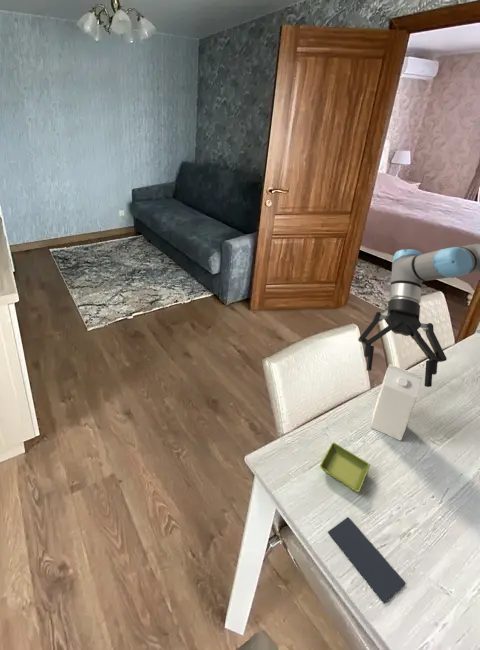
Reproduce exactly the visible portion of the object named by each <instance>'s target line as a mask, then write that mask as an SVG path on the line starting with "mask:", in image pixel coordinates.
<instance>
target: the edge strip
mask: <svg viewBox="0 0 480 650" xmlns="http://www.w3.org/2000/svg"><path fill="white" fill-rule="evenodd" d="M327 533H328V535H329V536H330V538H332V540H333V541H334V543H336V545H337V546H338V547H339V548H340V550H341V551H342V552H343V554H344V555H345V557H347V559H348V560H349V562H350V563H351V564H352V565H353V566H354V568H355V569H356V570H357V572H359V574H360V575H361V577H362V578H363V579H364V580H365V582H366V583H367V585H368V586H370V588H371V589H372V590H373V591H374V593H375V594H376V595H377V597H378V598H379V599H380V600H381V602H382V603H383V604H385V603H386V602H387V601H388V600H389V599H390V598H391V597H393V596H394V595H395V594H396V593H397V592H398V591H399V590H400V589H401V588H402V587H404V585H405V584H406V582H405V580H404V579H403V578H402V577H401V576H400V575H399V573H398V572H397V571H396V570H395V569H394V567H392V565H391V564H390V563H389V562H388V561H387V560H386V558H385V557H384V556H383V555H382V554H381V553H380V552H379V550H378V549H376V547H375V546H374V545H373V544H372V542H371V541H370V540H369V539H368V538H367V536H366V535H364V533H363V532H362V531H361V529H359V527H358V526H357V525H356V524H355V523H354V522H353V521H352V520H351V518H350V517H349V516H347V517H346V518H344V519H343V520H342V521H340V522H339V523H338V524H336V525H335V526H333V527H332V528H331V529H329V530H328V531H327Z"/></svg>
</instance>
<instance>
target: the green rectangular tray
mask: <svg viewBox="0 0 480 650" xmlns="http://www.w3.org/2000/svg"><path fill="white" fill-rule="evenodd" d="M370 466H371V464H370V463H368V462H367V461H365V460H363V459H362V458H360V457H358V456H357V455H356V454H354V453H352V452H350V451H348V449H345V448H344V447H342V446H341V445H339V444H337V443H336V442H332V443H331V444H330V446H329V448H328V449H327V452H326V454H325V455H324V457H323V459H322V461H321V462H320V465H319V467H320V469H321V470H322V471H323V472H325V473H326V474H328V475H329V476H331V477H332V478H334V479H335V480H337V481H338V482H340V483H341V484H343V485H344V486H346V487H347V488H349V489H350V490H351V491H353V492H355V493H360V492H361V489H362V487H363V484H364V481H365V479H366V477H367V474H368V473H369V470H370Z"/></svg>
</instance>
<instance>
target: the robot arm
mask: <svg viewBox="0 0 480 650" xmlns="http://www.w3.org/2000/svg"><path fill="white" fill-rule="evenodd" d="M471 273H480V242H479V243H478V242H477V243H476V242H475V243H470V244H466V245H463V246H452V247H446V248H441V249H437V250H434V251H430V252H426V253H423V252H421V251H419V250H416V249H411V248H408V249H400V250H399V249H398V250H397V251H395V253H394V254H393V259H392V263H391V278H390V287H389V294H388V295H389V296H388V298H389V301H388V305H387V313H386V314H382V313H381V312H380V311H377V312H375V314H374V315H373V318H372V320H371V323H369V325H367V327H366V328H365V330H364V331H363V332H362V333H361V335H360V336H359V337H358V339H357V341H358V342H359V343H361V344H363V345H364V350H363V357H364V358H367V361H366V369H365V370H366V372H367V371H368V372H371V371H372V369H373V359H374V351H375V345H372V344H373V343H375V342H377V341H378V340H379V339H381V338H382V337H383V336H385V335H386V334H388V333H389V332H392V333H394V334H397V335H402V336H405V337H408V336H410V338H411V339H412V340H414V342H415V344H417V346H418V347H419V349H420V350H421V351H422V353H423V354H424V355H425V356H426V357H427V359H428V360H426V361H425V372H424V373H425V374H424V387H426V388H430V387H432V385H433V376H436V375H437V374H438V363H443V362H446V361H447V359H448V358H447V355H446V354H445V352H444V350H443V348H442V345H441V343H440V342H439V339H438V338H437V335H436V333H435V330H434V323H432V322H428V323H423V322H421V320H420V317H421V316H420V314H421V305H420V304H421V303H422V302H421V301H422V288H423V287H422V286H423V282H429V281H435V280H443V279H449V278H450V279H453V278H457V277H461V276H466V275H467V274H471ZM383 320H384V321H385V323H386V325H387V326H386V327H384V328H383V329H382V330H380V331H379V332H377V333H376V334H374V335H373V336H371V337H370V338H369V339H367V337H369V335H370V333H371V332H372V331H373V330H374V328H376V326H377V325H378V323H380V322H383ZM420 328H421V329H422V332H424V333H425V335H426V336H425V337H426V338H427V340H428V342H429V344H430V346H431V347H430V346H429V345H428V343H427V342H426V341H425V339H424V338H423V337H422V335H421V333H420V331H418V330H419V329H420Z"/></svg>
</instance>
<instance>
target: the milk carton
mask: <svg viewBox="0 0 480 650" xmlns="http://www.w3.org/2000/svg"><path fill="white" fill-rule="evenodd" d="M422 378H423V375H421V374H418V373H415V372H414V371H410V370H407V369H405V368H401V367H399V366H396V365H394V364H391V363H389V364H388V366H387V368H386V370H385V374H384V377H383V380H382V384H381V386H380V390H379V393H378V396H377V400H376V403H375V406H374V409H373V413H372V419H371V423H370V428H371V429H374V430H376V431H378V432H381V433H382V434H384V435H386V436H389V437H391V438H393V439H396V440H398V441H401V442H402V440H403V437H404V435H405V432H406V429H407V427H408V423H409V421H410V419H411V415H412V413H413V410H414V408H415V405H416V403H417V399H418V397H419V392H420V386H421V382H422V380H423V379H422Z"/></svg>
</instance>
